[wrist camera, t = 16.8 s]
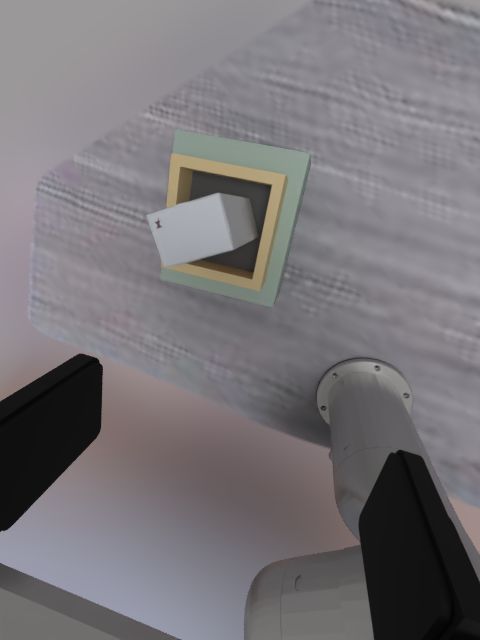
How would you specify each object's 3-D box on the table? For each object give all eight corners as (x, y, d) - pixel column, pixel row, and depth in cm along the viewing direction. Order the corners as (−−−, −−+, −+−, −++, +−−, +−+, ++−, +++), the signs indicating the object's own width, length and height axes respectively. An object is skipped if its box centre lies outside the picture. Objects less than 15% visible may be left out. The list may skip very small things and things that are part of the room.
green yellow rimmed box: (279, 292, 42) (268, 317, 32) (182, 269, 44) (145, 285, 34) (311, 163, 36) (309, 146, 27) (198, 142, 38) (159, 119, 29)
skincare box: (209, 251, 35) (161, 269, 24) (198, 212, 34) (142, 213, 23) (261, 237, 33) (234, 251, 22) (251, 196, 32) (218, 189, 21)
